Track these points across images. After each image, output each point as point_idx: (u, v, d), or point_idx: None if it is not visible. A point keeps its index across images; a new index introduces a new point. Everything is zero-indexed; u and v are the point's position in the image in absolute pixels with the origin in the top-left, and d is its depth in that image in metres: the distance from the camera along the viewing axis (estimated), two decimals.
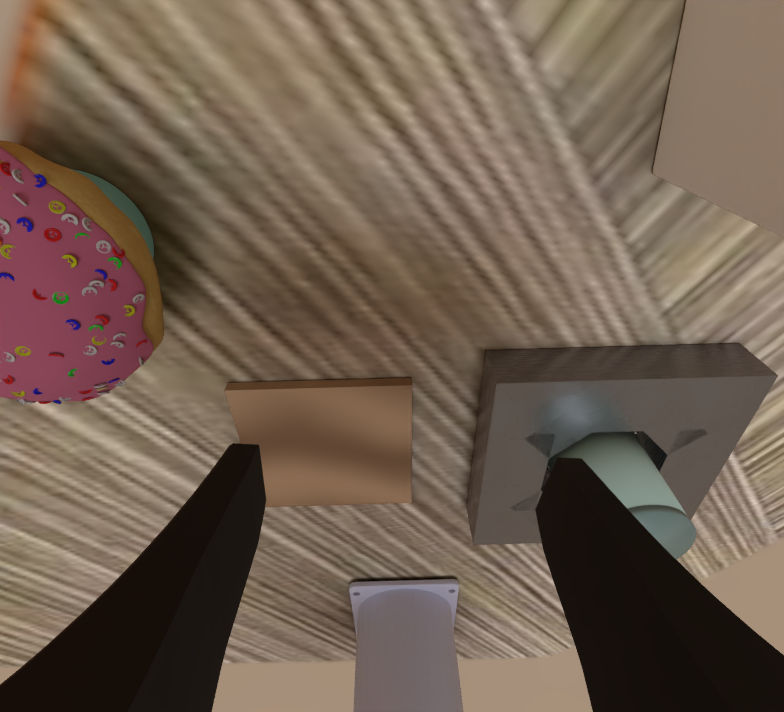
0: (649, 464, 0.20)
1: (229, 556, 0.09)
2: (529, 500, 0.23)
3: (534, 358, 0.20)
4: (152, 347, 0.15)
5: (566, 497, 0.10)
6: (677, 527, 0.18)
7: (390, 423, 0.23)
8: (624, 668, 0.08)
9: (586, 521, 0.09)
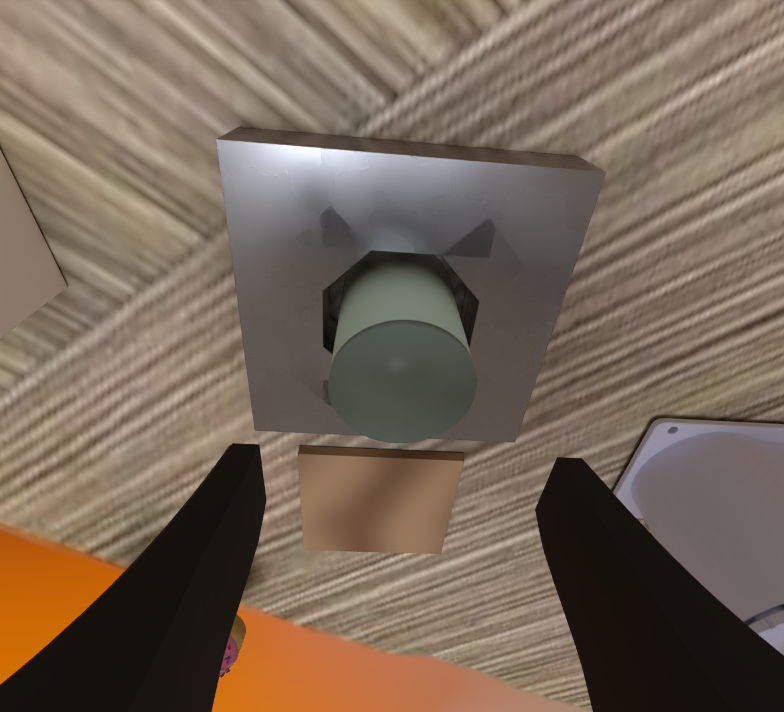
0: (346, 309, 0.15)
1: (229, 557, 0.09)
2: None
3: None
4: None
5: (566, 497, 0.10)
6: (363, 356, 0.13)
7: (344, 469, 0.24)
8: (624, 668, 0.08)
9: (586, 521, 0.09)
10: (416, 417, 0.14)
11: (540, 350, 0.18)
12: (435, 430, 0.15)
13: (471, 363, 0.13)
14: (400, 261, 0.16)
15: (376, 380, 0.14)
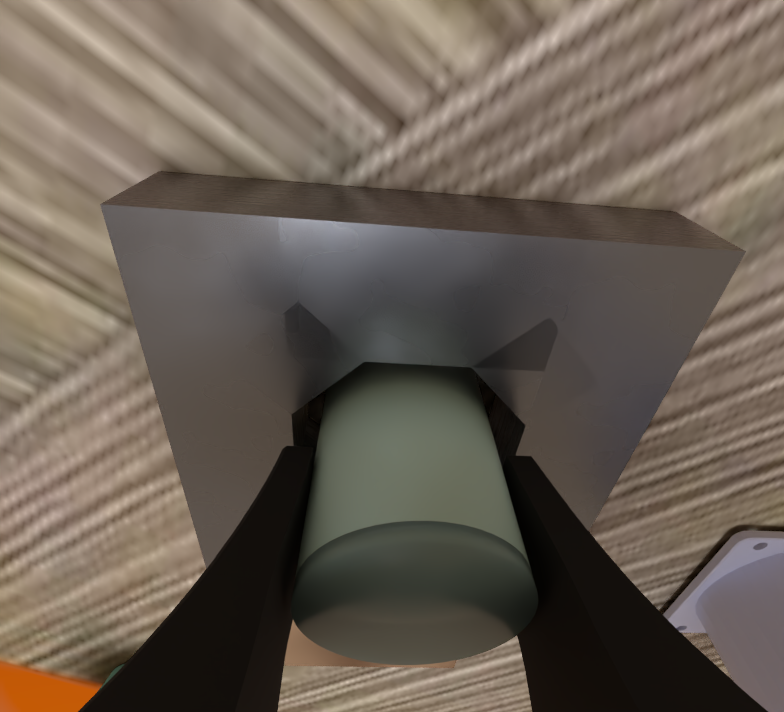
0: (325, 454, 0.10)
1: (292, 559, 0.09)
2: None
3: None
4: None
5: (513, 495, 0.10)
6: (347, 577, 0.08)
7: None
8: (557, 667, 0.08)
9: (528, 519, 0.09)
10: (435, 640, 0.09)
11: (607, 482, 0.12)
12: (465, 652, 0.09)
13: (531, 583, 0.08)
14: (407, 368, 0.11)
15: (371, 602, 0.08)
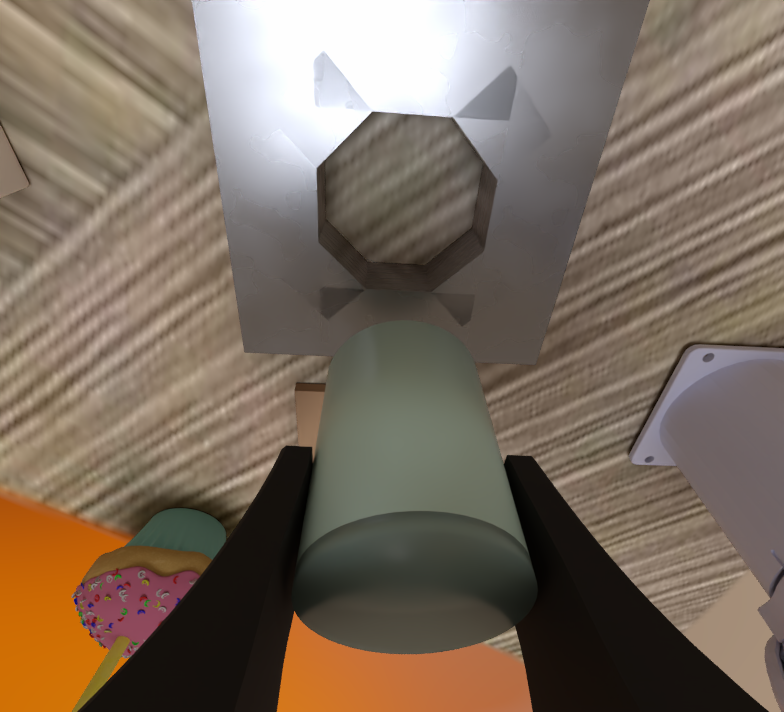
0: (325, 444, 0.10)
1: (291, 559, 0.09)
2: (451, 304, 0.17)
3: None
4: (187, 571, 0.23)
5: (513, 495, 0.10)
6: (348, 567, 0.08)
7: None
8: (557, 667, 0.08)
9: (529, 519, 0.09)
10: (435, 630, 0.09)
11: (566, 245, 0.16)
12: (464, 641, 0.09)
13: (531, 573, 0.08)
14: (408, 360, 0.11)
15: (371, 592, 0.08)
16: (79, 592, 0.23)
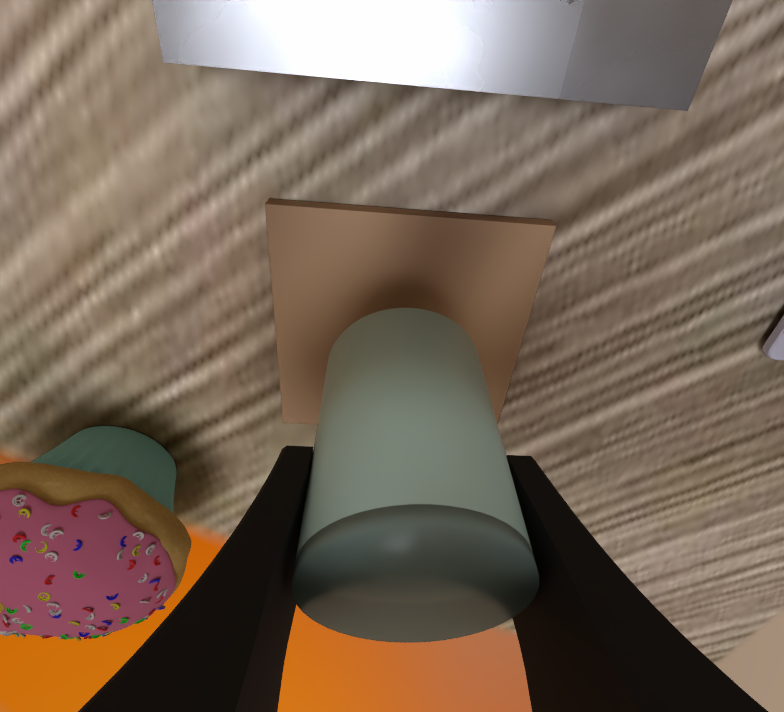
0: (325, 434, 0.10)
1: (292, 559, 0.09)
2: None
3: None
4: (97, 500, 0.15)
5: None
6: (348, 559, 0.08)
7: (346, 244, 0.14)
8: (556, 667, 0.08)
9: (528, 519, 0.09)
10: (435, 619, 0.09)
11: None
12: (464, 631, 0.09)
13: (533, 566, 0.08)
14: (410, 348, 0.11)
15: (371, 583, 0.08)
16: None
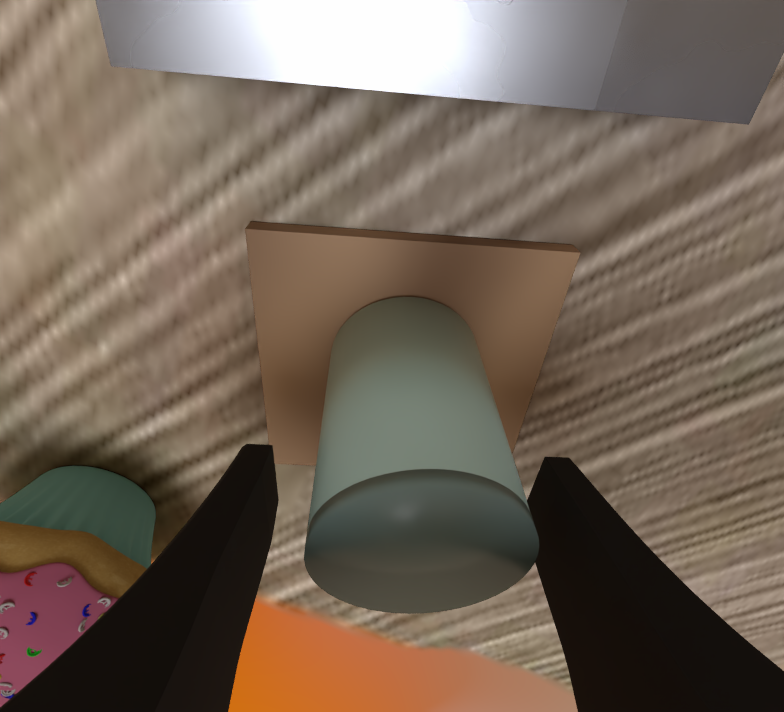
0: (333, 414, 0.10)
1: (245, 557, 0.09)
2: None
3: None
4: (55, 565, 0.13)
5: (553, 497, 0.10)
6: (359, 524, 0.08)
7: (339, 273, 0.12)
8: (607, 668, 0.08)
9: (572, 521, 0.09)
10: (440, 588, 0.09)
11: None
12: (468, 600, 0.10)
13: (533, 528, 0.08)
14: (411, 333, 0.11)
15: (380, 550, 0.09)
16: None
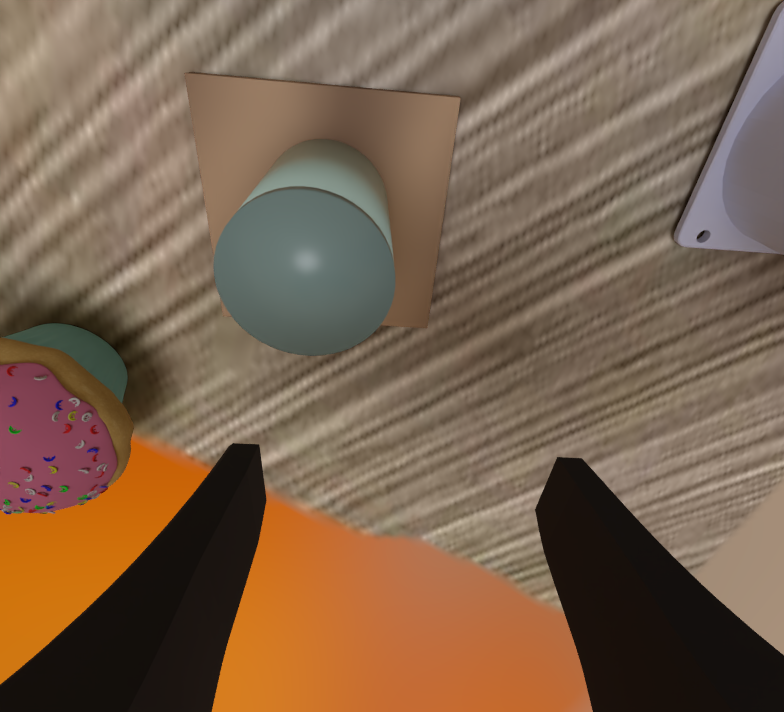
0: None
1: (229, 557, 0.09)
2: None
3: None
4: (33, 364, 0.16)
5: (566, 497, 0.10)
6: (249, 235, 0.11)
7: (265, 117, 0.15)
8: (624, 668, 0.08)
9: (586, 521, 0.09)
10: (328, 320, 0.12)
11: None
12: (354, 337, 0.12)
13: (384, 242, 0.11)
14: (315, 149, 0.14)
15: (272, 269, 0.11)
16: None
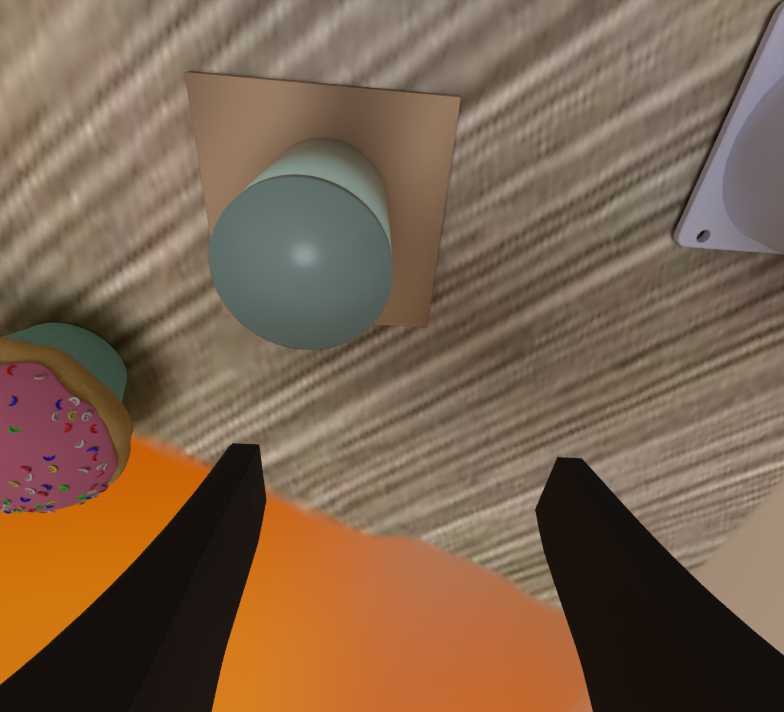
0: None
1: (229, 557, 0.09)
2: None
3: None
4: (32, 363, 0.16)
5: (566, 497, 0.10)
6: (244, 225, 0.11)
7: (265, 117, 0.15)
8: (624, 668, 0.08)
9: (586, 521, 0.09)
10: (326, 312, 0.12)
11: None
12: (353, 329, 0.12)
13: (379, 229, 0.11)
14: (312, 146, 0.14)
15: (267, 260, 0.11)
16: None
